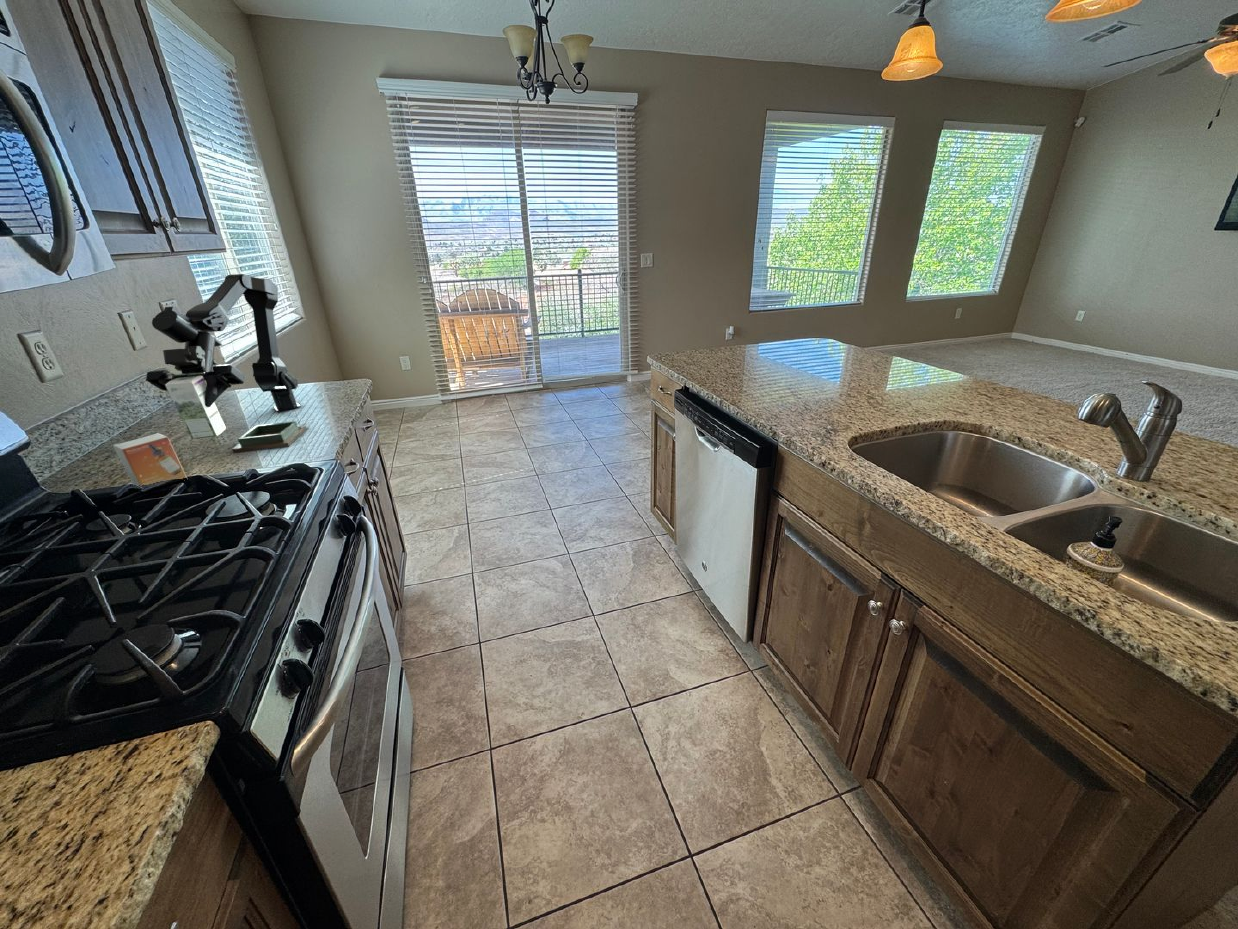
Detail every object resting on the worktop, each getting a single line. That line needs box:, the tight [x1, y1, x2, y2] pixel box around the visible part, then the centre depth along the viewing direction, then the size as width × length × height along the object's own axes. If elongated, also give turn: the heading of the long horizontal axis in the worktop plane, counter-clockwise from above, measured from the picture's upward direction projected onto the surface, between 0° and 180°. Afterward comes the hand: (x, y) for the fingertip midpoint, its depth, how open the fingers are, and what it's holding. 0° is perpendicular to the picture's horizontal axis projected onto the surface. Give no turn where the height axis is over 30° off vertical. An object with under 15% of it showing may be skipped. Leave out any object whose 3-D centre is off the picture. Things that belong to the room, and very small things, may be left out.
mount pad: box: [231, 421, 308, 454], centre depth 129 cm, size 13×13×3 cm
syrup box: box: [165, 376, 227, 440], centre depth 120 cm, size 6×6×14 cm
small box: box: [112, 432, 188, 486], centre depth 106 cm, size 8×6×10 cm
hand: (193, 407), depth 118 cm, fingers closed on syrup box, 6 cm apart
